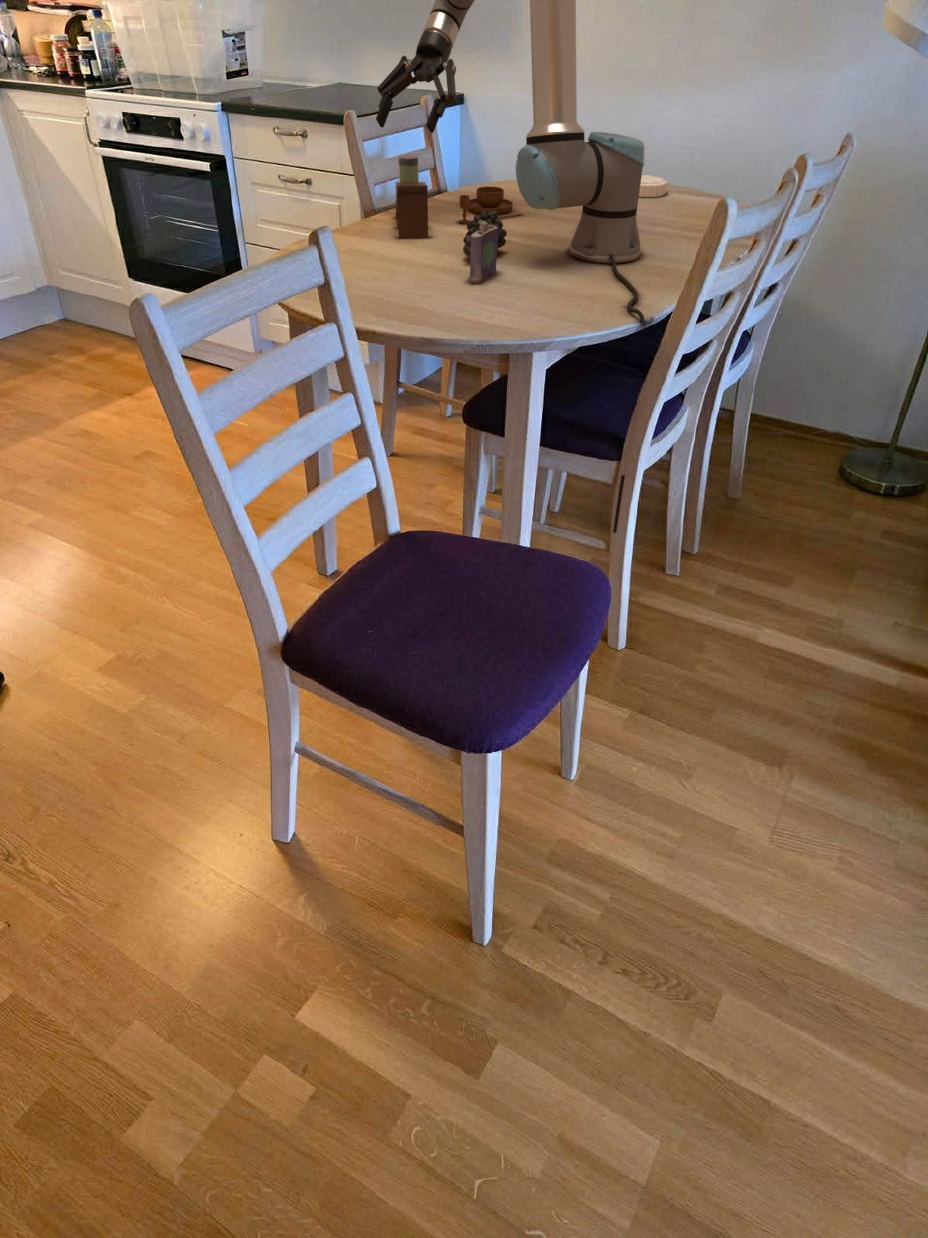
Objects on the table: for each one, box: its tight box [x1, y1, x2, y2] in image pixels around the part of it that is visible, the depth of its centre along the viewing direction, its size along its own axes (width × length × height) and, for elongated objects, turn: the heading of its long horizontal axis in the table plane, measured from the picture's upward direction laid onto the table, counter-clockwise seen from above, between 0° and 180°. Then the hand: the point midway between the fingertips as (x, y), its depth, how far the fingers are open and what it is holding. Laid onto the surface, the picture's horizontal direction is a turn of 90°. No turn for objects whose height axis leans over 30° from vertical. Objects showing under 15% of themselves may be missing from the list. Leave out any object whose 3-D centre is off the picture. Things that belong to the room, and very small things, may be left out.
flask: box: [469, 220, 498, 285], centre depth 168 cm, size 9×3×11 cm, turn 151°
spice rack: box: [394, 181, 429, 239], centre depth 197 cm, size 19×7×11 cm, turn 6°
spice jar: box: [397, 154, 420, 182], centre depth 200 cm, size 5×5×10 cm
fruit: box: [462, 211, 508, 259], centre depth 180 cm, size 9×8×15 cm
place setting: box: [458, 186, 522, 225], centre depth 211 cm, size 18×20×6 cm
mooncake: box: [639, 174, 668, 198], centre depth 232 cm, size 12×12×4 cm
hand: (404, 125), depth 192 cm, fingers open, 13 cm apart
